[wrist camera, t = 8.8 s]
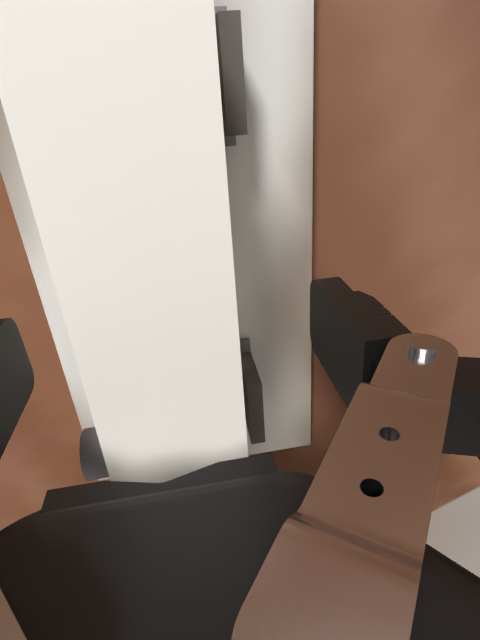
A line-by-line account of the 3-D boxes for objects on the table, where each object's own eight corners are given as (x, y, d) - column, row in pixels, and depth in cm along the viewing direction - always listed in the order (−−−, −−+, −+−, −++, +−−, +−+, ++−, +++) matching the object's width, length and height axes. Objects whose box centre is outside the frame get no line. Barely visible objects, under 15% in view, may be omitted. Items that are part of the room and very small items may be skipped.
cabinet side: (300, -102, 14) (353, -183, 10) (302, 425, 24) (329, 488, 20) (-63, -91, 13) (-165, -178, 9) (102, 458, 23) (89, 531, 19)
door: (179, 8, 13) (202, -143, 5) (223, 418, 20) (260, 620, 12) (36, 15, 12) (-188, -138, 5) (134, 432, 20) (113, 650, 12)
